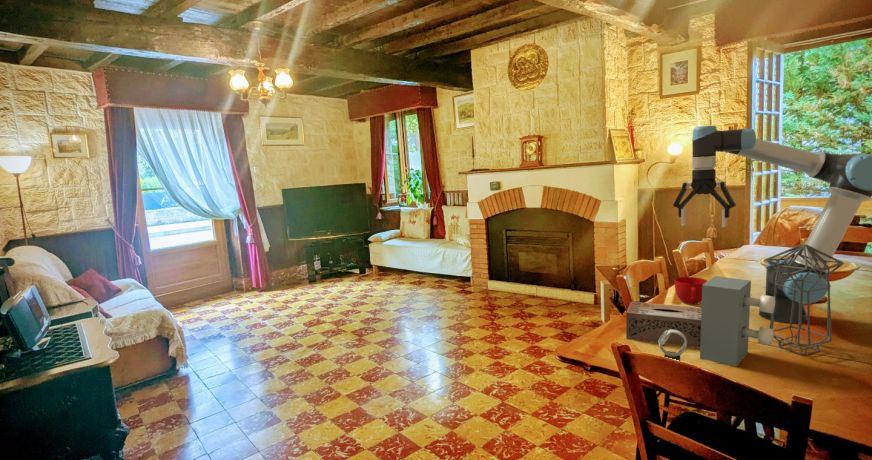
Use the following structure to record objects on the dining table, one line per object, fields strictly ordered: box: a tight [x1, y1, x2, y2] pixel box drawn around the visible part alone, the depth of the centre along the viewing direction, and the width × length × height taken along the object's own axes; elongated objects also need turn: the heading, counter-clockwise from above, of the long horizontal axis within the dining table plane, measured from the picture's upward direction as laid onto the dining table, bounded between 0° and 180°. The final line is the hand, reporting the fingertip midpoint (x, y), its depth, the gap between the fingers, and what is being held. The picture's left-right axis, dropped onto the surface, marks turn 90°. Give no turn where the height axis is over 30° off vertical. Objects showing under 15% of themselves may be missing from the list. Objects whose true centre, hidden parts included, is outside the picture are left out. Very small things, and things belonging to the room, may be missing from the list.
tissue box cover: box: [625, 301, 702, 349], centre depth 168 cm, size 26×14×10 cm, turn 62°
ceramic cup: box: [673, 276, 709, 306], centre depth 204 cm, size 13×17×10 cm
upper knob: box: [743, 294, 775, 313], centre depth 143 cm, size 9×5×5 cm, turn 45°
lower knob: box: [742, 326, 775, 346], centre depth 144 cm, size 9×5×5 cm, turn 45°
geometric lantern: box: [764, 243, 845, 356], centre depth 150 cm, size 16×16×35 cm
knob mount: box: [699, 275, 752, 368], centre depth 149 cm, size 10×14×24 cm
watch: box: [658, 329, 688, 362], centre depth 145 cm, size 6×8×11 cm
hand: (703, 226), depth 175 cm, fingers open, 13 cm apart
